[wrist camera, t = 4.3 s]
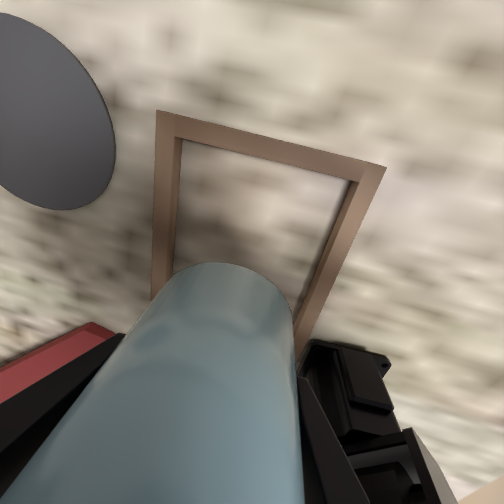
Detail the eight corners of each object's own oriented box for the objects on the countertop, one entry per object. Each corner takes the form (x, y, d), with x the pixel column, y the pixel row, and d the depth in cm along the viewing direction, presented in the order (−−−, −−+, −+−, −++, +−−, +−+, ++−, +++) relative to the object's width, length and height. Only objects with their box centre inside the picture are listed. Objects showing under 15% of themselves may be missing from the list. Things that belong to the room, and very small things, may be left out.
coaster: (118, 224, 16) (115, 225, 16) (-23, 189, 16) (-28, 190, 16) (111, 40, 12) (107, 38, 12) (-84, -8, 12) (-92, -12, 12)
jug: (262, 405, 13) (239, 745, 6) (153, 379, 13) (-6, 688, 6) (312, 283, 9) (430, 826, 2) (159, 245, 9) (-285, 658, 2)
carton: (123, 292, 24) (-45, 380, 28) (96, 324, 20) (-101, 424, 24) (189, 368, 29) (35, 435, 32) (179, 408, 24) (1, 481, 28)
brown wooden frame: (296, 349, 20) (297, 362, 19) (156, 315, 20) (150, 325, 19) (378, 164, 13) (387, 167, 12) (166, 111, 13) (156, 109, 12)
